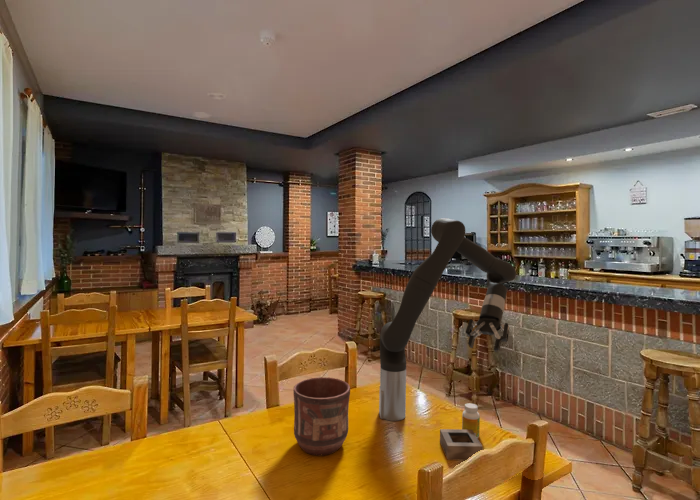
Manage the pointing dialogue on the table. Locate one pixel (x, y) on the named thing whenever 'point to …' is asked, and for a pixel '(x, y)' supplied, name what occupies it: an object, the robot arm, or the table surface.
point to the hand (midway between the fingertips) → (483, 348)
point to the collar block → (459, 443)
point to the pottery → (321, 414)
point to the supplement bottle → (471, 418)
